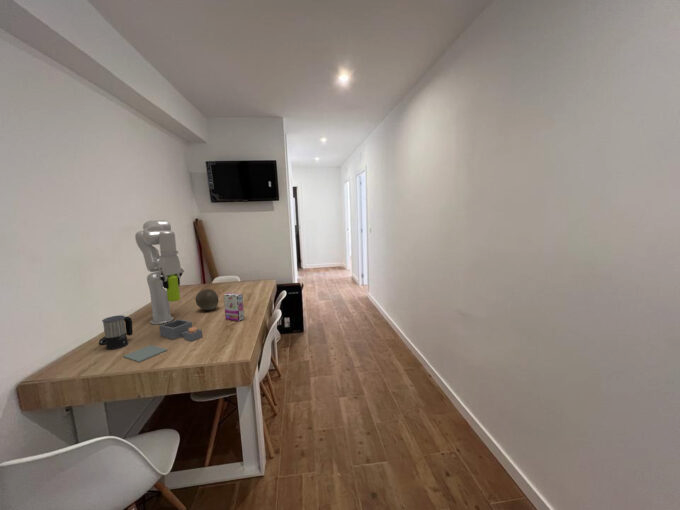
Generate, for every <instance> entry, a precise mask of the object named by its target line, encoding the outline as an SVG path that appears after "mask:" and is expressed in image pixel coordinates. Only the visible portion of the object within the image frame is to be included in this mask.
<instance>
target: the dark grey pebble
mask: <svg viewBox="0 0 680 510" xmlns="http://www.w3.org/2000/svg"><path fill="white" fill-rule="evenodd" d="M195 303H196V306H198V308H200V309H201V310H204V311H212V310H215V309H216V308H217V307H218V305H219V296H218V294H217V293H216V291H215V290H213V289H209V288H207V289H202V290H200V291H199V292H197V293H196V295H195Z"/></svg>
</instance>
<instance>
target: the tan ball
mask: <svg viewBox="0 0 680 510" xmlns="http://www.w3.org/2000/svg"><path fill="white" fill-rule="evenodd" d="M197 329H198V327H197V326H192V327H191V328H189V329H188V330H189V333H194V332H196V331H197Z"/></svg>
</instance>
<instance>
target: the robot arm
mask: <svg viewBox="0 0 680 510" xmlns="http://www.w3.org/2000/svg"><path fill="white" fill-rule="evenodd" d="M142 229H143V230H140V231H139V230H138V231H137V232H136V233H135V235H134V236H135V237H134V238H135V239H134V240H135V243H136V244H137V247H138V248H139V250H140V251H141V252H142V255H143V260H144V263H145V266H146V270H147V271H148V272H150V273H149V274H148V275H147V276H146V281H147V284H148V289H149V294H150V302H151V311H152V314H151V316H150V317H152V319H150V324H151V325H163V323H164V324H166V323H167V322H168V323H169V322H172V321H174V319H175V318H174V316H172V315H171V308H170V307H171V306H170V301H168V296H167V289H168V288H169V287H168V281H167V277H168V276H169V275H172V273H174V274H175V276H177V277H178V285H179V286H181V279H182V278H181V277H182V275H183V274H184V272H185V270H184V269H183V268H182V267H181V262H180V258H179V256H178V254H179V250H178V249H177V243H176V234H175V232H174V231H172V226H171V223H170V221H167V220H159V219H158V220H148V221H146V222H144V224H143V226H142ZM155 245H156V246H158V245H159V250H158V248H156V247H155ZM159 251H160V252H159Z"/></svg>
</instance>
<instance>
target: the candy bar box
mask: <svg viewBox="0 0 680 510" xmlns="http://www.w3.org/2000/svg"><path fill="white" fill-rule="evenodd" d="M223 300H224V301H223V303H224V313H225V314H224V315H225V316H224V317H225V320H226V319H229V320H228V321H233V320H236V321H235V322H240V320H241V321H243V320H245V313H244V312H245V310H244V297H243V293H232V292H228V293H225V294H223ZM242 319H243V320H242Z"/></svg>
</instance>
